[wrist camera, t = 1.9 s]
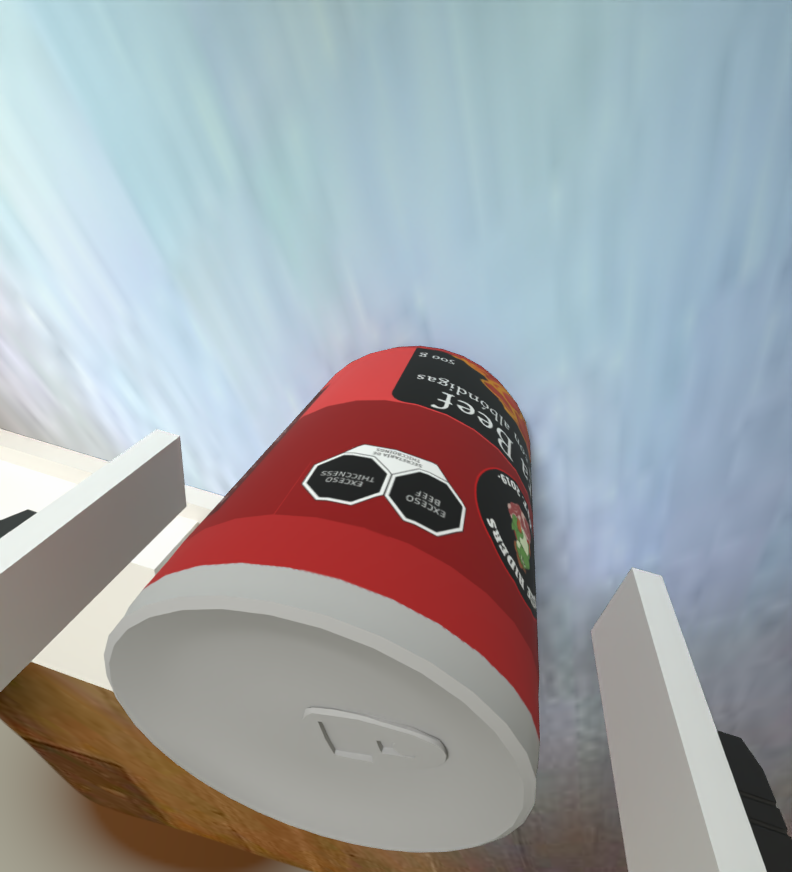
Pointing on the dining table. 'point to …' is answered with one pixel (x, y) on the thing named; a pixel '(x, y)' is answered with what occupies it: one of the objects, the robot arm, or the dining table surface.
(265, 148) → the dining table surface
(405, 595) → the canned food
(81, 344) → the dining table surface
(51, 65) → the dining table surface
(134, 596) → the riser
